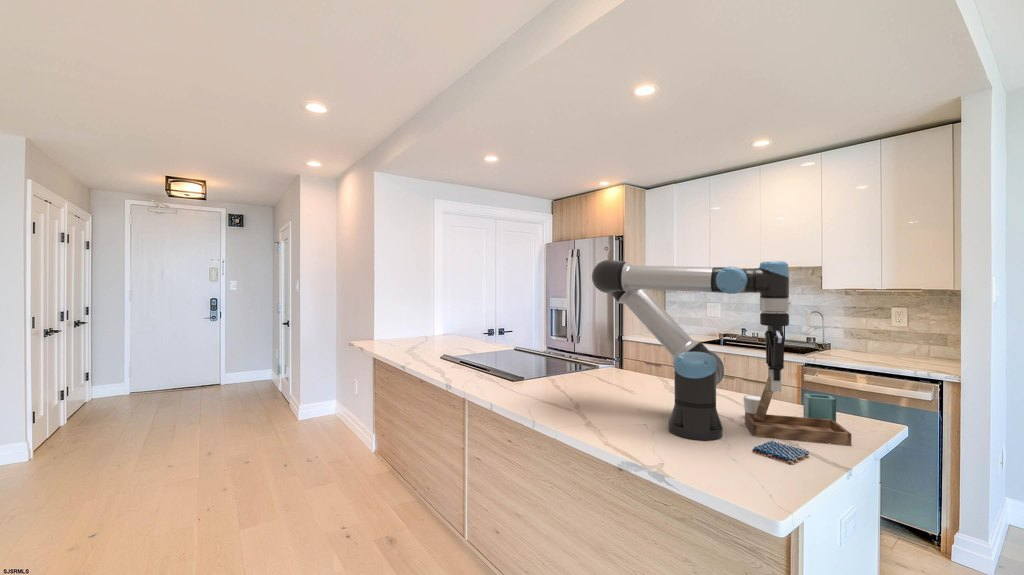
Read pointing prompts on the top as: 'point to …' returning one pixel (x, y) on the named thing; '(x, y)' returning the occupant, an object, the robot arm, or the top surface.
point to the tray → (798, 429)
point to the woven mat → (781, 452)
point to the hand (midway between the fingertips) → (774, 389)
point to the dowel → (764, 400)
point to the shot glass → (751, 403)
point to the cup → (819, 406)
